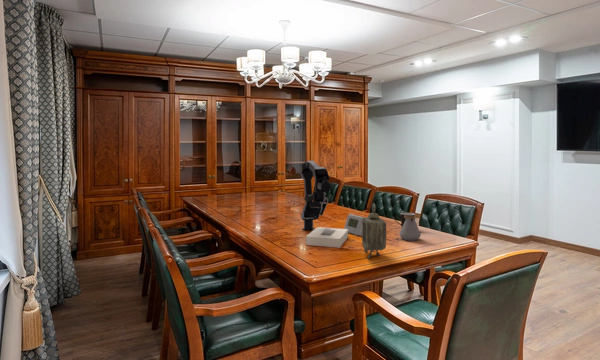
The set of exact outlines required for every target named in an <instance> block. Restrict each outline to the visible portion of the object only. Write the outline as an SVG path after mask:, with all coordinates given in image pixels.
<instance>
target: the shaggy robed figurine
mask: <svg viewBox="0 0 600 360" xmlns="http://www.w3.org/2000/svg"><path fill="white" fill-rule="evenodd" d="M371 209H372V212H370V213H369V214H368V216H366V217H364V216H362V217H363V222H362V236H361V238H362V239H361V241H362V242H361V243H362V247H363V251H364V252H365V253H368V251H370V252H369V255H367V259H369V260H371V259H372V254H373V252H374V251H375V252H376V253H375V255H376V256H378V257H379V256H380V253H379V251H383V250H385V249H386V248H387V247H386V246H387V222H386V221H385V220H384V219H382V218H380V216H379V214H378V213H377V212H376V203H374V202H372V205H371Z"/></svg>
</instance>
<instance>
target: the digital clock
mask: <svg viewBox="0 0 600 360" xmlns="http://www.w3.org/2000/svg"><path fill="white" fill-rule="evenodd" d="M363 217H364V216H360V215H356V214H352V213H349V214H348V215H347V218H346V220H345V224H344V228H343V229H348V234H351V235H354V236H359V237H362V222H363Z"/></svg>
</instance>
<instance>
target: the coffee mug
mask: <svg viewBox="0 0 600 360" xmlns="http://www.w3.org/2000/svg"><path fill="white" fill-rule="evenodd" d="M404 216H416V214H415V213H414V212H413V213H412V212H401V213H400V215H395V216H394V218H393V220H394V222H396V223H397V224H399V225H400V226H401V228H402V227H403V224H404V222H405V220H406V219H405V218H404ZM397 217H398V218H399V219H400V222H398V221H397V220H396V218H397Z"/></svg>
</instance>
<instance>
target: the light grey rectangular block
mask: <svg viewBox="0 0 600 360" xmlns="http://www.w3.org/2000/svg"><path fill="white" fill-rule="evenodd" d="M324 228H325V229H324V233H323V235H325V236H331V235H332V228H333V227H324Z"/></svg>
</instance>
